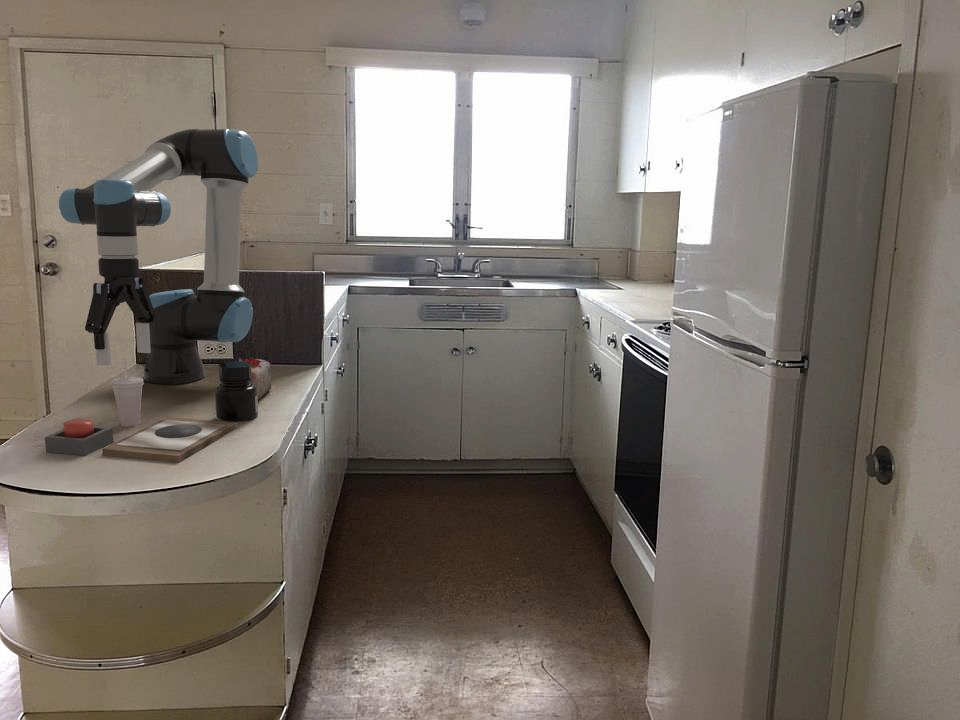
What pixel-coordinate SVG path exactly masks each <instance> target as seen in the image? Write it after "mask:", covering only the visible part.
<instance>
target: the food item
mask: <svg viewBox="0 0 960 720" xmlns="http://www.w3.org/2000/svg"><path fill="white" fill-rule="evenodd" d="M238 361H244V362H249V363H251V378H252V379H251V381H250V382H252V384H253V385H255V386H256V388H257V398H258V401H259V400H260V399H261V398H262V397H263V396H264V395H266V394H267V393H268V392H269V391H271V389H272V372H271V371H272V370H271V368H272V367H271V362H269V361H267V360H265V359H260V358H254V357H250V358H246V359H242V358H240V357H239V358H238Z"/></svg>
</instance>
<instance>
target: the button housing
mask: <svg viewBox="0 0 960 720" xmlns="http://www.w3.org/2000/svg"><path fill="white" fill-rule="evenodd" d="M44 443H45V452H46V453H52V454H53V453H54V454H65V455H74V456H87V455H89V454H90V455H91V454H92V453H94V452H96V451H98V450H100V449H103V448H105V447H107V446H109V445H111V444H113V443H114V433H113V427H107V426H97V425H96V426H95V425H94V434H92V435H90V436H87V437H83V438H72V437H65V436H64V428H63V429H60V430H58V431H56V432H53V433H51V434H48V435H46V436H44Z"/></svg>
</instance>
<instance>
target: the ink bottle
mask: <svg viewBox="0 0 960 720" xmlns="http://www.w3.org/2000/svg"><path fill="white" fill-rule="evenodd" d="M218 368H219V369H218V371H219V382H220V383H219V385H218V386H217V387H216V388H215V391H214V393H215V395H214V397H215V399H214V400H215V414H216V415H215V416H216V418H217V419H218V420H219V421H220V420H221V421H223V422H242V421H243V422H245V421H248V420H251V419H254V418H256V417H257V416H258V414H259V407H258V406H259V402H258V401H259V400H258V398H257V388H256V386H255V385H253V384H252V382H250V381H251V379H252V378H251V363H249V362H244V361H239V360H237V361H235V360H233V361H225V362H222V363H219V365H218Z"/></svg>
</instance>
